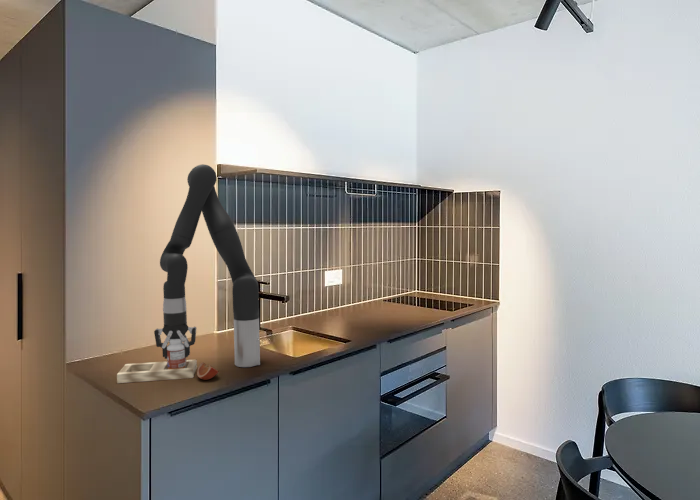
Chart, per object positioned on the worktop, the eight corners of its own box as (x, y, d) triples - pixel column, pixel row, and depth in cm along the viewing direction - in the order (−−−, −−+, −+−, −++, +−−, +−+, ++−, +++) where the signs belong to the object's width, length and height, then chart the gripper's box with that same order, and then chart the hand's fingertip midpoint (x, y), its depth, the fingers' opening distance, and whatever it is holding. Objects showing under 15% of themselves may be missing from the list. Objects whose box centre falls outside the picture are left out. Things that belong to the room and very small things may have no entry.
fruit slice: (193, 377, 160) (193, 363, 160) (212, 373, 164) (212, 359, 164) (203, 384, 154) (202, 369, 153) (222, 379, 158) (222, 365, 157)
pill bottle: (170, 366, 166) (169, 336, 165) (188, 365, 167) (187, 335, 166) (165, 372, 160) (164, 340, 159) (183, 371, 161) (182, 340, 160)
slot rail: (196, 367, 170) (196, 359, 170) (193, 377, 159) (192, 369, 159) (126, 372, 165) (125, 364, 165) (117, 383, 155) (116, 374, 154)
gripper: (197, 307, 167) (199, 353, 168) (155, 309, 164) (156, 355, 166) (195, 311, 160) (196, 359, 161) (150, 313, 157) (152, 362, 158)
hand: (176, 357), depth 163 cm, fingers closed on pill bottle, 6 cm apart
